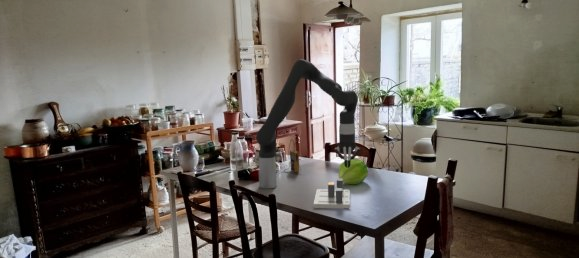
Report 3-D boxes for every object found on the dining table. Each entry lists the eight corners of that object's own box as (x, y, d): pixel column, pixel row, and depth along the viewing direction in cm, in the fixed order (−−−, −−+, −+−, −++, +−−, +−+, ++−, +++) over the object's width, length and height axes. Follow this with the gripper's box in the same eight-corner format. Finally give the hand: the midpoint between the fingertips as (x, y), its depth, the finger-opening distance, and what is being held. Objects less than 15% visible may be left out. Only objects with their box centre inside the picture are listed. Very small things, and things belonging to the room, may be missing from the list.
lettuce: (355, 195, 214) (332, 193, 224) (376, 176, 229) (354, 175, 240) (348, 170, 210) (325, 169, 221) (370, 153, 225) (348, 153, 236)
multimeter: (277, 170, 258) (276, 140, 255) (291, 168, 262) (291, 138, 259) (287, 176, 245) (286, 144, 242) (302, 173, 249) (301, 142, 246)
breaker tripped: (328, 197, 199) (327, 184, 198) (328, 194, 203) (328, 182, 202) (334, 197, 198) (334, 184, 197) (334, 194, 202) (334, 182, 201)
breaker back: (336, 192, 206) (336, 180, 205) (337, 189, 210) (336, 178, 209) (342, 192, 206) (342, 180, 205) (342, 189, 210) (342, 178, 209)
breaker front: (335, 202, 191) (335, 190, 190) (336, 200, 194) (335, 188, 193) (342, 203, 190) (342, 190, 189) (342, 200, 194) (342, 188, 193)
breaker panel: (313, 207, 191) (313, 203, 191) (317, 192, 213) (316, 189, 213) (349, 208, 189) (349, 204, 189) (349, 193, 210) (349, 189, 210)
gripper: (360, 130, 197) (361, 165, 200) (333, 131, 199) (334, 165, 202) (361, 133, 190) (361, 169, 192) (333, 133, 191) (333, 169, 194)
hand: (347, 167), depth 197 cm, fingers closed
